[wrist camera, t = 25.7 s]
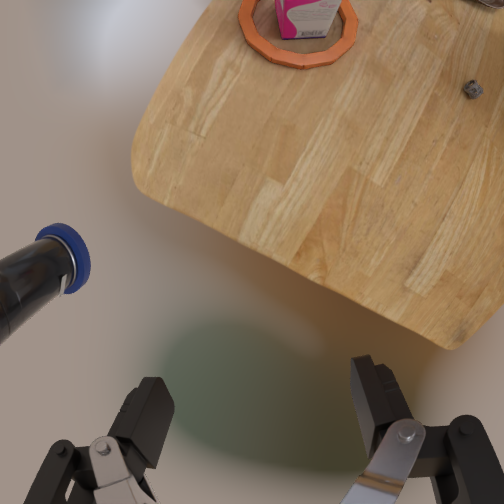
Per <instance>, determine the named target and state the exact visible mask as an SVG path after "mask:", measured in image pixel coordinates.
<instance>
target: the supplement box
mask: <svg viewBox="0 0 504 504" xmlns="http://www.w3.org/2000/svg"><path fill="white" fill-rule="evenodd" d="M341 1H342V0H275V9H276V14H277V19H278V24H279V29H280V33H281V38H282V39H283V40H288V39H304V38H325V37H326V35H327V33H328V30H329V28H330V26H331V24H332V21H333V19H334V17H335V14H336V12H337V10H338V8H339V6H340V3H341Z"/></svg>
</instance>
